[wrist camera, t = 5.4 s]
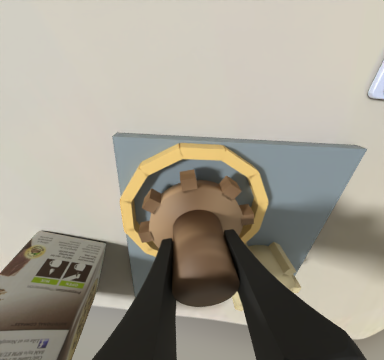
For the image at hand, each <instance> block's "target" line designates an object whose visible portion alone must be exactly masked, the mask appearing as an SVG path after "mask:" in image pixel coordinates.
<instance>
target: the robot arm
mask: <svg viewBox="0 0 384 360" xmlns="http://www.w3.org/2000/svg"><path fill="white" fill-rule="evenodd" d="M383 91H384V61H383V63H382V65H381V67H380V69H379V71H378V73H377V75H376V77H375V79H374V81H373V83H372V85H371V87H370V89H369V92H368V96H369V97H370V98H376V99H384V92H383ZM224 236H225V239H226V242H227V245H228V248H229V251H230V254H231V257H232V260H233V263H234V266H235V269H236V272H237V275H238V279H239V283H240V284H239V288H238V290H237V292H238V294H239V297H240V300H241V303H242V306H243V310H244V313H245V317H246V321H247V325H248V328H249V332H250V336H251V340H252V344H253V348H254V352H255V356H256V360H366V358H365V357H364V355H363V354H362V352H361V351H360V349H359V348H358V346H357V345H356V344H355V343H354V341H353V340H352V339H351V338H350V336H349V335H348V334H347V333H346V331H344V330H343V329H341V328H340V327H338V326H337V325H335V324H334V323H333V322H331V321H330V320H328V319H327V318H325V317H324V316H323V315H321V314H320V313H318V312H317V311H316V310H314V309H313V308H312V307H310V306H309V305H308V304H306V303H305V302H304V301H303V300H301V299H300V298H299V297H298V296H296V295H295V294H294V293H293V292H292V291H290V290H289V289H288V288H287V287H286V286H285V285H283V284H282V283H281V282H280V281H279V280H278V279H277V278H276V277H275V276H274V275H272V274H271V273H270V272H269V271H268V270H267V269H266V268H265V267H264V265H263V264H262V263H261V262H260V261H259V260H258V259H257V258H256V257H255V256H254V255H253V253H252V252H251V251H250V250H249V249H248V247H247V246H246V245H245V244H244V242H243V241H242V240H241V239H240V237H239V236H238V234H237V233H236V231H235V230H234V229H230V230H224ZM172 261H173V241H172V238H168V239H163V240H162V241H161V244H160V247H159V250H158V253H157V255H156V258H155V260H154V262H153V265H152V267H151V269H150V271H149V273H148V275H147V277H146V279H145V281H144V283H143V285H142V287H141V289H140V291H139V293H138V294H137V296H136V298H135V300H134V301H133V303H132V305H131V306H130V308H129V309H128V311H127V312H126V314H125V316H124V317H123V319H122V320H121V322H120V323H119V324H118V326H117V327H116V329H115V330H114V331H113V333H112V334H111V336H110V337H109V338H108V340H107V341H106V343H105V344H104V345H103V346H102V348H101V349H100V350H99V351H98V353H97V354H96V355H95V356H94V358H93V359H92V360H177V359H176V358H177V357H176V326H175V314H176V299H175V298H174V296H173V294H172Z"/></svg>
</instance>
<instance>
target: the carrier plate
mask: <svg viewBox="0 0 384 360" xmlns="http://www.w3.org/2000/svg"><path fill="white" fill-rule="evenodd" d="M113 144H114V151H115V158H116V165H117V172H118V180H119V187H120V194H121V198H120V207H121V214H122V220H123V227H124V231H125V233H126V236H127V243H128V250H129V257H130V264H131V271H132V279H133V286H134V293H135V297H136V296H137V294H138V293H139V291H140V289H141V287H142V285H143V283H144V281H145V279H146V277H147V275H148V273H149V271H150V269H151V267H152V265H153V262H154V260H155V258H156V255H157V253H158V250H159V248H158V247H157V246H156V245H155V243H154V242H153V241H150V242H144V243H142V242H141V239H140V237H139V235H138V232H139V227H140V223H141V222H145V221H150V217H151V213H150V212H148V211H146V210H144V209H142V205H143V201H144V198H145V196H146V195H147V194H148V192H149V191H150V189H151V188H152V189H154V190H156V191H158V192H159V193H161V194H162V193H163V192H164V191H165V190H167V189H168V188H170V187H172V186H174V185H176V184H178V183H181V182H180V172H181V171H187V170H193V169H194V171H195V176H196V180H207V181H212V182H215V183H218V184H219V183H220V182H221V181H222V180H223V179H224V177H225V176H228V177H229V178H231V179H232V180H234V181H235V182H237V184H238V186H239V187H240V189H241V191H242V192H241V193H240V194H239V195H238V196H237V197H236V198H235V199H236V201H237V203H238V205H244V204H249V206H250V208H251V209H252V211H253V213H254V224H250V225H244V226H243V227H242V230H241V233H240V235H239V237H240V239H241V240H242V241H243V242H244V244H245V245H246V246H247V247H248V249H249V250H250V251H251V252H252V253H253V255H254V256H255V257H256V258H257V259H258V260H259V261H260V262H261V263H262V264H263V265H264V267H265V268H266V269H267V270H268V271H269V272H270V273H271V274H272V275H274V276H275V277H276V278H277V279H278V280H279V281H280V282H281V283H282V284H283V285H285V286H286V287H287V288H288V289H289V290H290V291H292V292H293V293H298V292H299V291H300V289H301V286H300V284H299V283H298V281H297V280H296V278H295V275H296V273H297V272H298V270H299V268H300V266H301V265H302V263H303V261H304V259H305V257H306V256H307V254H308V252H309V250H310V249H311V247H312V245H313V243H314V242H315V240H316V238H317V236H318V235H319V233H320V231H321V229H322V228H323V226H324V224H325V222H326V221H327V219H328V217H329V215H330V214H331V212H332V210H333V208H334V207H335V205H336V203H337V201H338V200H339V198H340V196H341V194H342V192H343V191H344V189H345V187H346V185H347V184H348V182H349V180H350V178H351V177H352V175H353V173H354V171H355V170H356V168H357V166H358V164H359V163H360V161H361V159H362V157H363V156H364V154H365V152H366V150H367V149H365V148H362V147H360V146H357V145H343V144H324V143H305V142H285V141H266V140H247V139H228V138H208V137H189V136H170V135H151V134H131V133H116V134H115V135H114V136H113ZM232 299H233V303H234V307H235V309H236V310H239V311H243V306H242V303H241V300H240V297H239V294H238V292H236V293H235V294H234V295H233V296H232Z"/></svg>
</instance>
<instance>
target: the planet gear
mask: <svg viewBox="0 0 384 360" xmlns="http://www.w3.org/2000/svg"><path fill="white" fill-rule="evenodd" d="M180 182H181V183H178V184H176V185H174V186H172V187H170V188H168V189H167V190H165V191H164V192H163V193H162V194H161V193H159V192H158V191H156V190H154V189H152V188H151V189H150V191H149V192H148V194H147V195H146V196H145V198H144V201H143V205H142V209H144V210H146V211H148V212H150V213H151V217H150V221H145V222H141V223H140V227H139V232H138V235H139V237H140V239H141V242H142V243H144V242H150V241H153V242H154V243H155V245H156V246H157V247H158V248H159V247H160V244H161V241H162V240H163V239H168V238H172V241H173V261H172V294H173V296H174V298H175V299H176V300H177V301H179V302H180V303H182V304H185V305H188V306H194V307H205V306H212V305H216V304H219V303H221V302H224V301H226V300H228V299H229V298H231V297H232V296H233V295H234V294H235V293H236V292H237V290H238V288H239V284H240V283H239V279H238V275H237V272H236V269H235V266H234V263H233V260H232V257H231V254H230V251H229V248H228V245H227V242H226V239H225V236H224V230H230V229H234V230H235V231H236V233H237V234H238V236H239V235H240V233H241V230H242V227H243V226H244V225H250V224H254V213H253V211H252V209H251V208H250V206H249V204H244V205H238V203H237V201H236V199H235V198H236V197H237V196H238V195H239V194H240V193H241V192H242V191H241V189H240V187H239V186H238V184H237V182H235V181H234V180H232V179H231V178H229V177H228V176H225V177H224V179H223V180H222V181H221V182H220V183H219V184H218V183H215V182H212V181H207V180H196V176H195V171H194V169H193V170H187V171H181V172H180Z"/></svg>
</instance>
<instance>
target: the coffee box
mask: <svg viewBox="0 0 384 360" xmlns="http://www.w3.org/2000/svg"><path fill="white" fill-rule="evenodd" d="M105 249H106V244H105V243H102V242H97V241H91V240H86V239H81V238H75V237H70V236H65V235H59V234H54V233H49V232H44V231H39V232H37V233H36V234H35V235H34V236H33V237H32V239H31V240H30V241H29V242H28V243H27V244H26V245H25V246H24V247H23V249H22V250H21V251H20V252H19V253H18V254H17V255H16V256H15V257H14V258H13V259H12V261H11V262H10V263H9V264H8V265H7V266H6V267H5V268H4V269H3V270H2V272H1V273H0V360H72V357H73V354H74V352H75V349H76V346H77V343H78V341H79V338H80V335H81V333H82V330H83V327H84V324H85V322H86V319H87V316H88V313H89V311H90V308H91V305H92V303H93V300H94V297H95V295H96V292H97V288H98V283H99V278H100V273H101V268H102V263H103V258H104V253H105Z"/></svg>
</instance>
